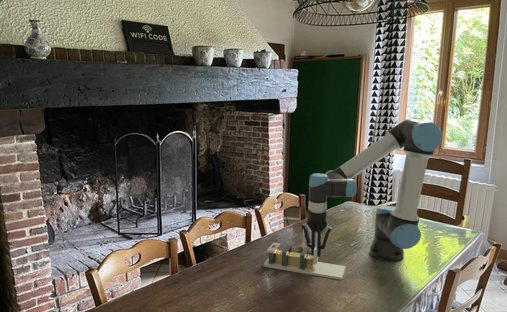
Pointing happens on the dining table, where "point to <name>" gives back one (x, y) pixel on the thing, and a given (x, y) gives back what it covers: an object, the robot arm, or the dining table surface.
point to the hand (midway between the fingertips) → (315, 262)
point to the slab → (317, 270)
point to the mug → (310, 239)
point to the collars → (288, 248)
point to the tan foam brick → (293, 259)
